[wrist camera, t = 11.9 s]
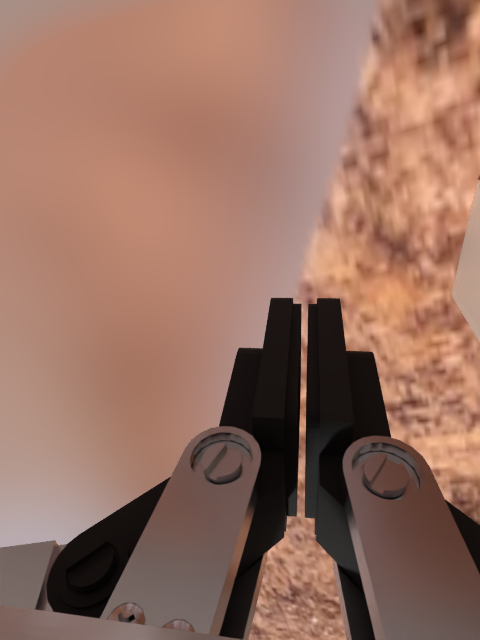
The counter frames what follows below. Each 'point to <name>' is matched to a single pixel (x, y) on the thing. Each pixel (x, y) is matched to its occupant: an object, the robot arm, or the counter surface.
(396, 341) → the counter surface
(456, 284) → the domino
